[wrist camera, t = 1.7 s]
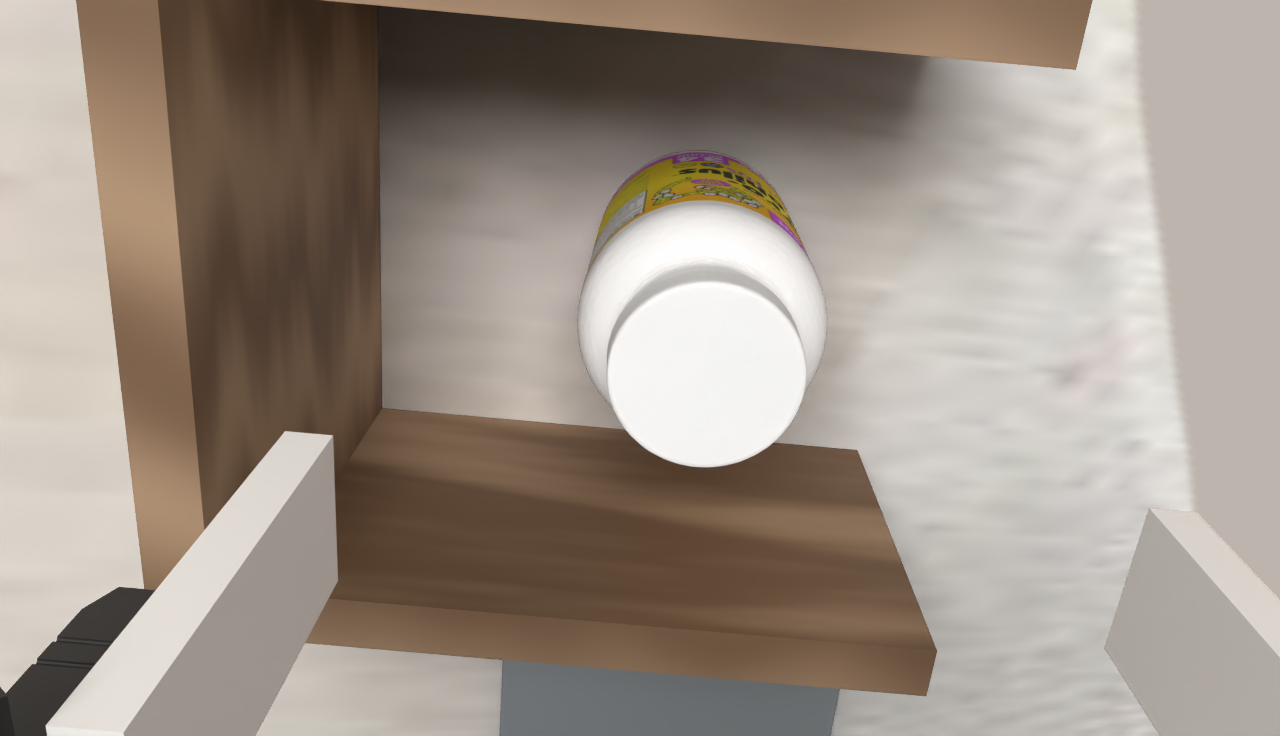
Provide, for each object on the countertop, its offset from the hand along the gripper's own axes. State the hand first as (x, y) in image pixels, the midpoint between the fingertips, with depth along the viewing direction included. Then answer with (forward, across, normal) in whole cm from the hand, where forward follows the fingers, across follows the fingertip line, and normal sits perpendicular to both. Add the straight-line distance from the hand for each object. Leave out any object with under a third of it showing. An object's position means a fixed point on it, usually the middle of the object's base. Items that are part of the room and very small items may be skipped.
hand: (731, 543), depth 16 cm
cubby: (+20, +3, 0) cm, 20 cm away
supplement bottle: (+20, 0, 0) cm, 20 cm away
